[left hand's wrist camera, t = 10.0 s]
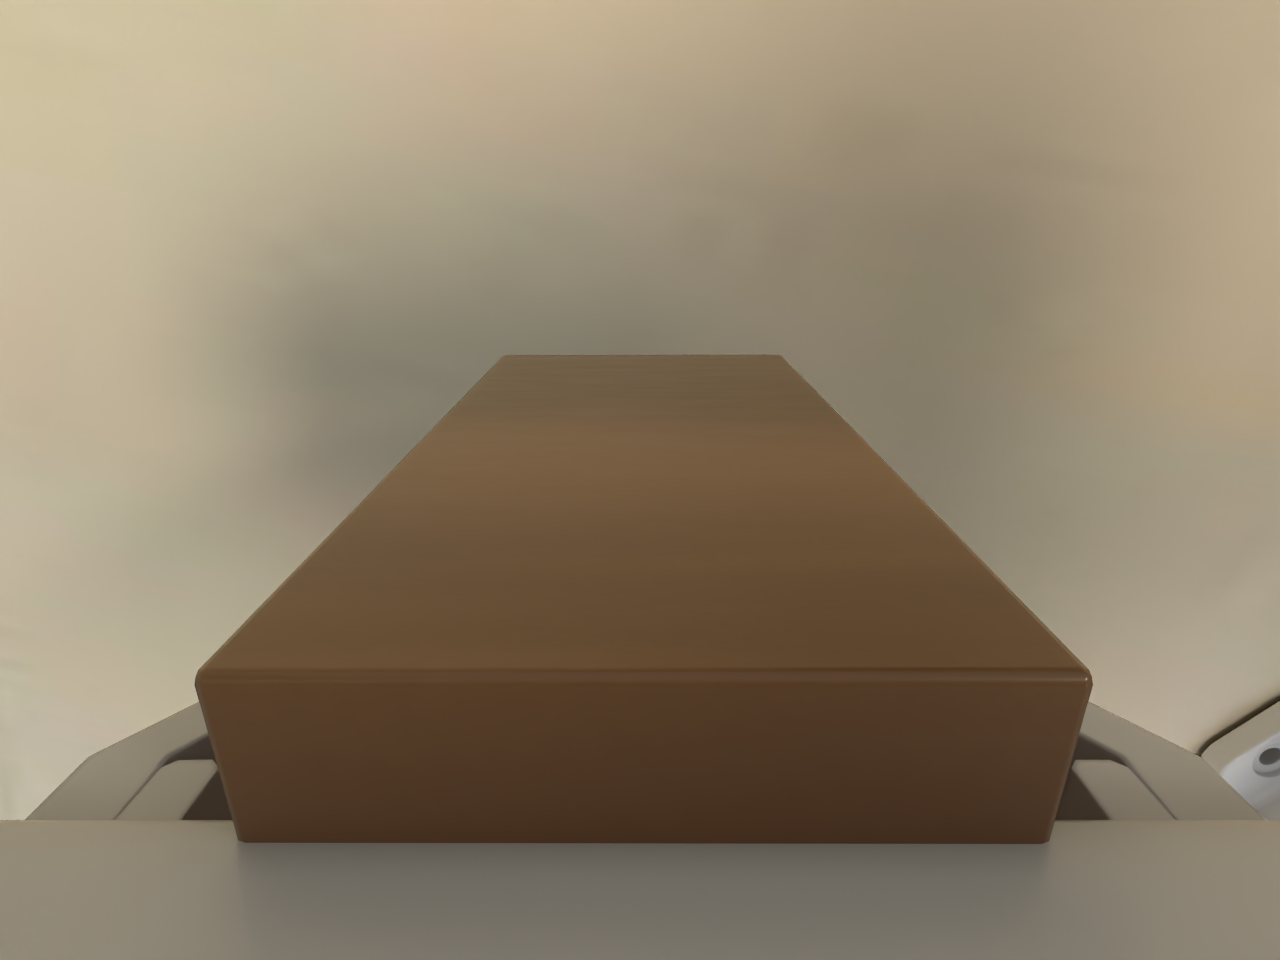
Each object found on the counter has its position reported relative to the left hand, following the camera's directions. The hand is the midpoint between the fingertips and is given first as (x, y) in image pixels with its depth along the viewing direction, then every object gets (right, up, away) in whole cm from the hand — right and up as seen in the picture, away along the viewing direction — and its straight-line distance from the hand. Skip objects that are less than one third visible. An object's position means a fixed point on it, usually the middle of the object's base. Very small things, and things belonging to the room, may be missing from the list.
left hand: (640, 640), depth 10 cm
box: (0, -6, +9) cm, 10 cm away
